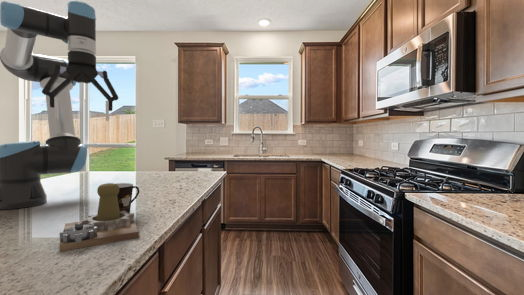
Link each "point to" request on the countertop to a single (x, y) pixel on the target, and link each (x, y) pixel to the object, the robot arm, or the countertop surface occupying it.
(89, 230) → the gear
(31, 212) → the countertop surface
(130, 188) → the coffee mug
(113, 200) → the cork
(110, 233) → the gear board
